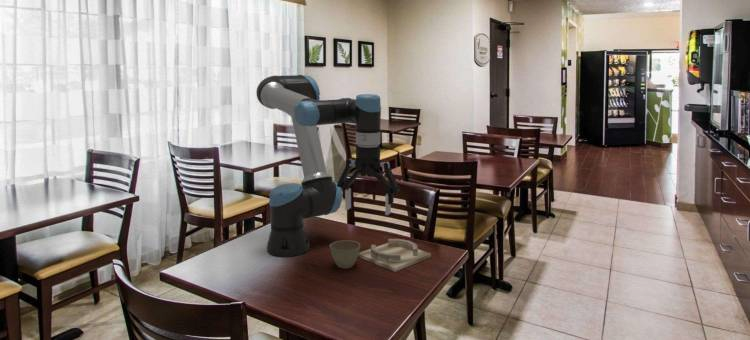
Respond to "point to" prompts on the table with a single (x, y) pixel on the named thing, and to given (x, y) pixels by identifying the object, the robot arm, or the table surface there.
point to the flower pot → (345, 253)
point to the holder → (395, 254)
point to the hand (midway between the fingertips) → (367, 211)
